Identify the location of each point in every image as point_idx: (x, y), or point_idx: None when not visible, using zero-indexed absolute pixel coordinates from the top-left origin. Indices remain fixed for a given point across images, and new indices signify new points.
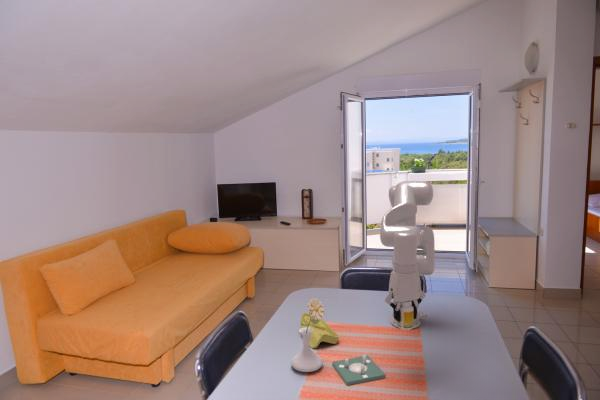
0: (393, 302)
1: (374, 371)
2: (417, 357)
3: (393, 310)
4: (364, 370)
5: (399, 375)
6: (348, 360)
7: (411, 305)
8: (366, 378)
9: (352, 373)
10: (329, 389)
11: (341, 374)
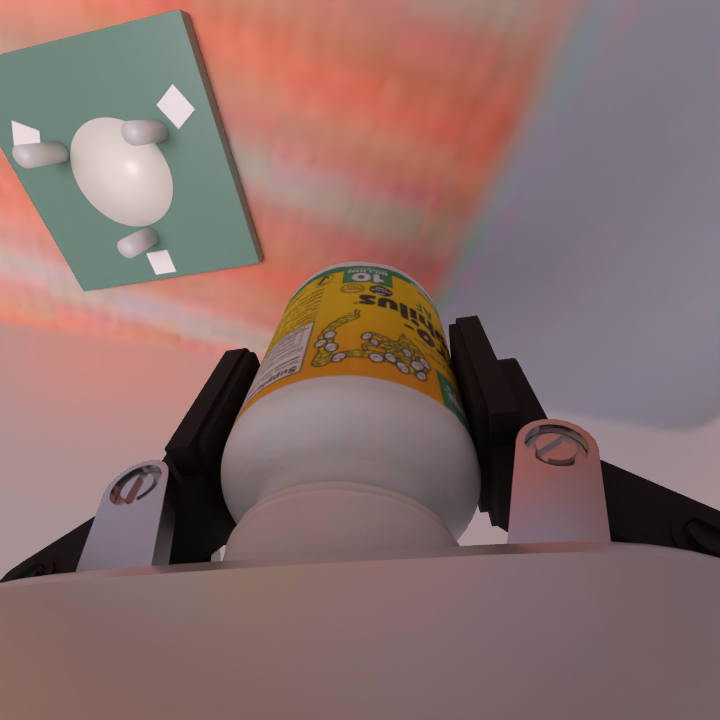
0: (90, 570)
1: (209, 227)
2: (505, 70)
3: (165, 457)
4: (158, 210)
5: (331, 249)
6: (55, 68)
7: (456, 526)
8: (169, 277)
9: (99, 225)
10: (25, 297)
11: (45, 223)
